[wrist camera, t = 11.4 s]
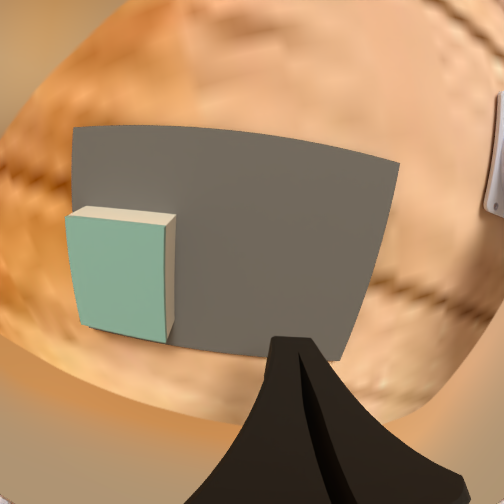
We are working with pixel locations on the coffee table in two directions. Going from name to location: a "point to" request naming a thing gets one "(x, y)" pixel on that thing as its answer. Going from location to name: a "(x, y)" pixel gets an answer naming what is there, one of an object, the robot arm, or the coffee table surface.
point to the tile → (123, 270)
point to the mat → (248, 227)
